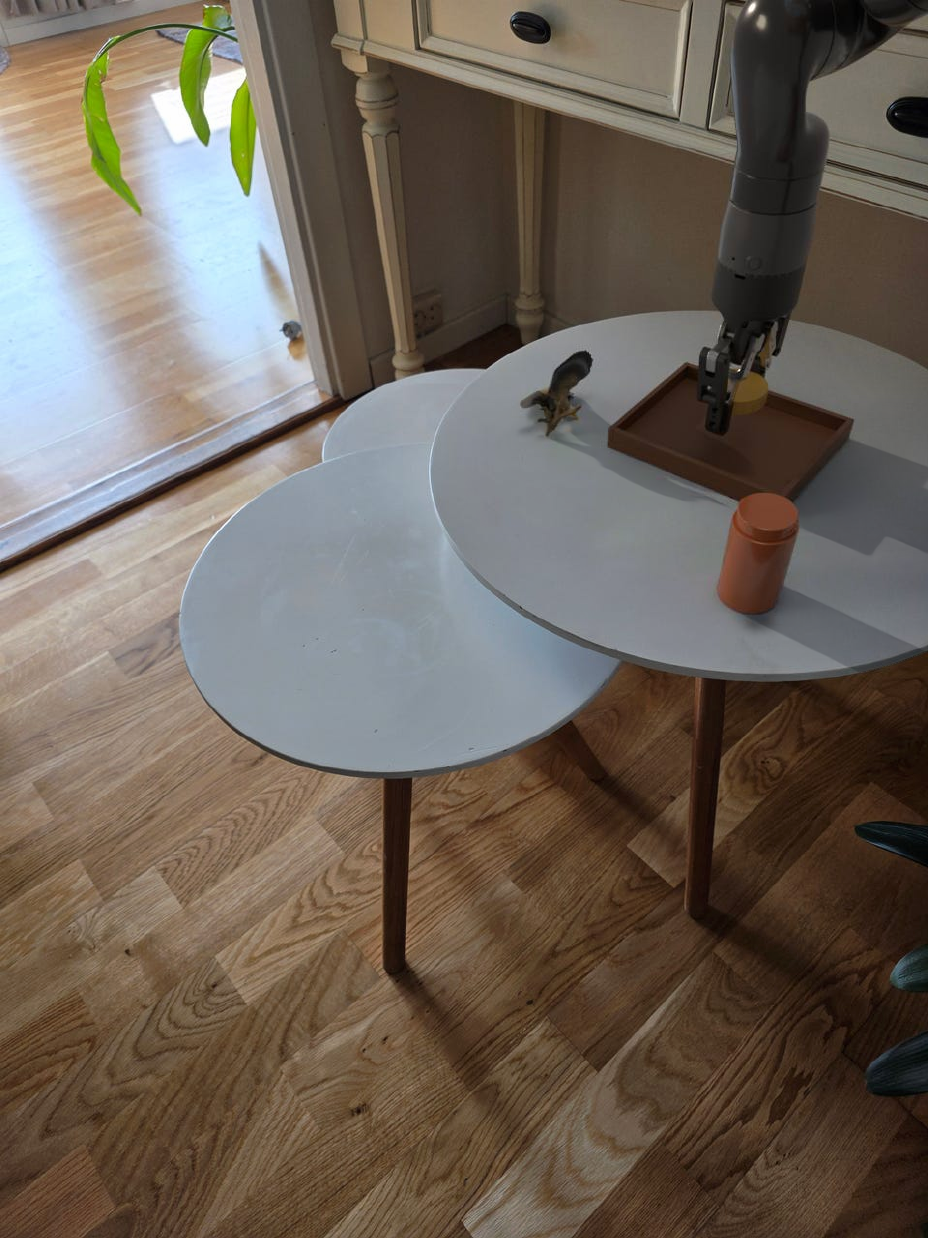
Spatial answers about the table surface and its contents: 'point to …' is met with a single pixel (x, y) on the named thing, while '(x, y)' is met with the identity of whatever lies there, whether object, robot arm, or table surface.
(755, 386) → the jar lid
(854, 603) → the table surface
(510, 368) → the table surface
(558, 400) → the eagle figurine
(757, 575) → the jar
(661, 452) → the tray
